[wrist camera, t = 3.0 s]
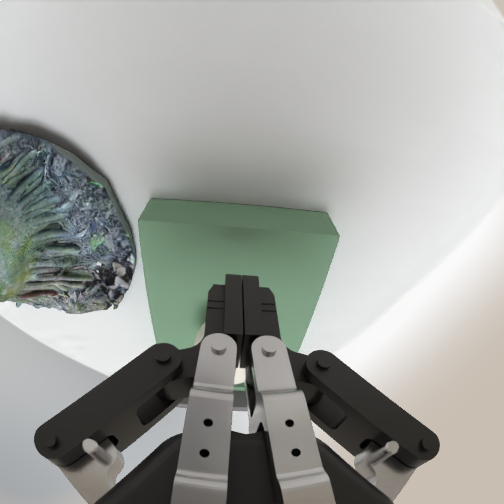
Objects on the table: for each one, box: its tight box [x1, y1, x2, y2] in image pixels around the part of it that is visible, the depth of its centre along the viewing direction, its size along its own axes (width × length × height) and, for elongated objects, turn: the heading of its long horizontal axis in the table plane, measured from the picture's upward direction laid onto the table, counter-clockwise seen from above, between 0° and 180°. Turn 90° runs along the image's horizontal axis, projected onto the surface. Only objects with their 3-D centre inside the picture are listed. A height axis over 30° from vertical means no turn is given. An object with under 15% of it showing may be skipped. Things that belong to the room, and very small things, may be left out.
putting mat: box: [138, 199, 340, 411], centre depth 23 cm, size 20×12×5 cm, turn 173°
